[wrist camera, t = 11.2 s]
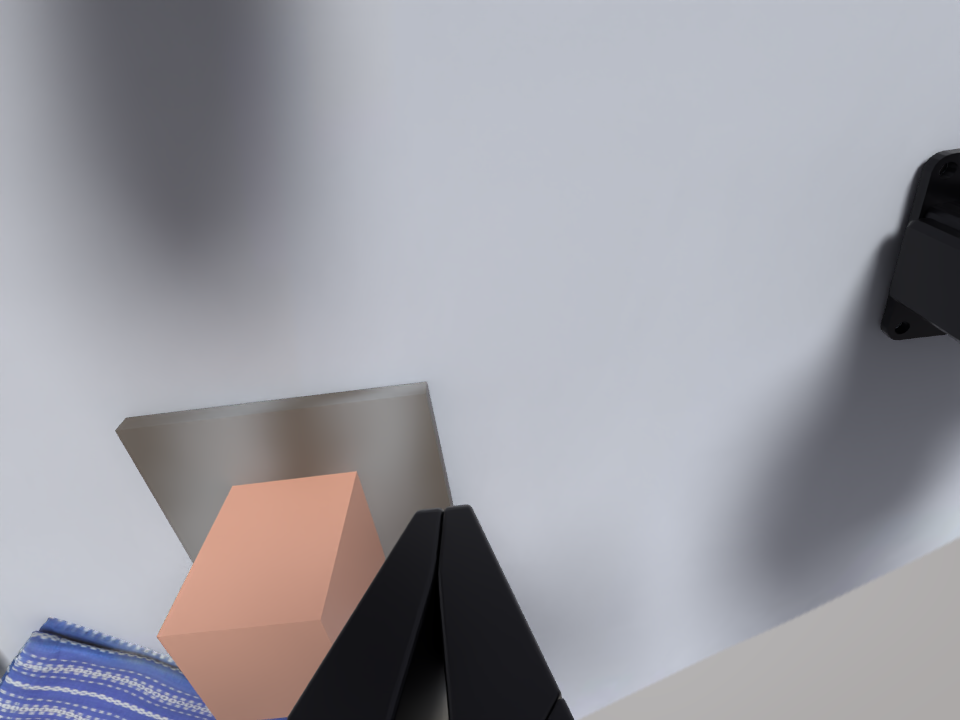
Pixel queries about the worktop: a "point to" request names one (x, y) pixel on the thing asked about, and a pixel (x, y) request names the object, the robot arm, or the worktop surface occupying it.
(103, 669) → the dish towel
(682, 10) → the worktop surface
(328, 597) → the salmon pink block
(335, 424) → the plate
